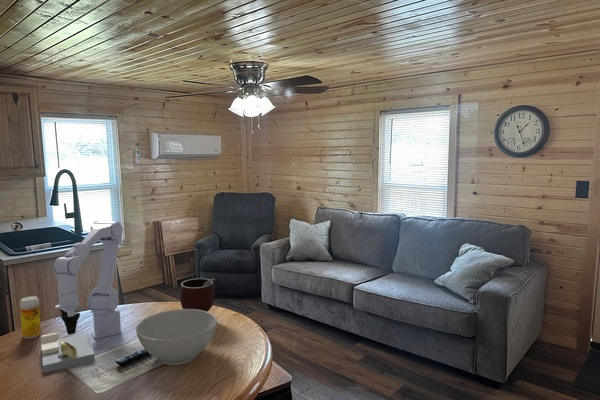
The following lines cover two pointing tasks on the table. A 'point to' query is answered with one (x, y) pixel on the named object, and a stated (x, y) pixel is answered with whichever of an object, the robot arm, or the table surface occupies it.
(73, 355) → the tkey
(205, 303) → the mate gourd
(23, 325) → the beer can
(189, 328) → the decorative bowl
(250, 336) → the table surface
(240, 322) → the table surface
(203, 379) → the table surface
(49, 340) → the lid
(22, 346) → the table surface
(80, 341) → the grey flat rectangular board
